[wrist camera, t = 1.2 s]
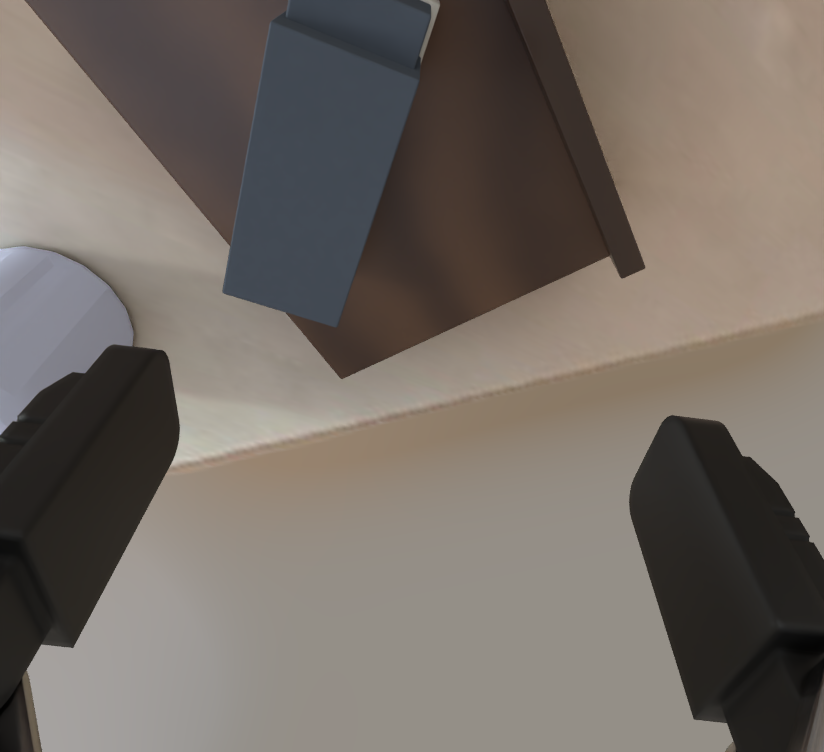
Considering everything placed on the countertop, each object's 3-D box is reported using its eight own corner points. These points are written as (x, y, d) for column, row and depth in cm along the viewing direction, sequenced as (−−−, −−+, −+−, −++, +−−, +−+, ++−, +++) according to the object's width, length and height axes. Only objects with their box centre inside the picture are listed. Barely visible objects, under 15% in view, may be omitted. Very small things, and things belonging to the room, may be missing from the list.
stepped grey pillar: (349, 275, 26) (337, 333, 22) (249, 243, 25) (219, 297, 22) (440, 0, 19) (442, 20, 16) (308, -56, 19) (279, -49, 15)
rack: (351, 325, 34) (336, 406, 28) (68, -44, 23) (-44, -30, 18) (605, 200, 29) (646, 268, 23) (391, -344, 18) (375, -454, 13)
